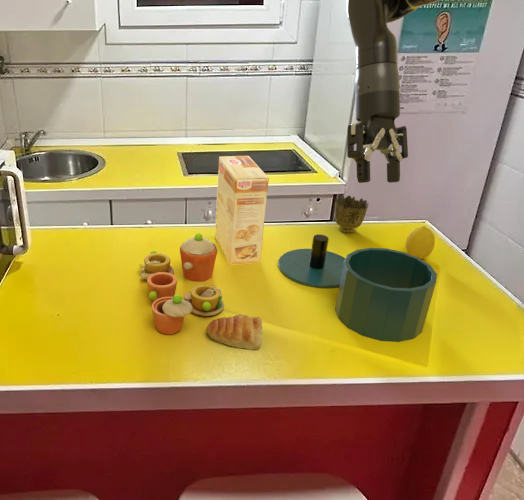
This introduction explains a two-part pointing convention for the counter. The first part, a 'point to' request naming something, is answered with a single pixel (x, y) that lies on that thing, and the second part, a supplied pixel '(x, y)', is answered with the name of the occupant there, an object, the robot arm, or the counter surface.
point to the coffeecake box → (240, 209)
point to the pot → (385, 294)
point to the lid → (313, 265)
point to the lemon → (420, 242)
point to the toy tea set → (164, 284)
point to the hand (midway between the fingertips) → (379, 182)
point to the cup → (349, 213)
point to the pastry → (237, 331)
